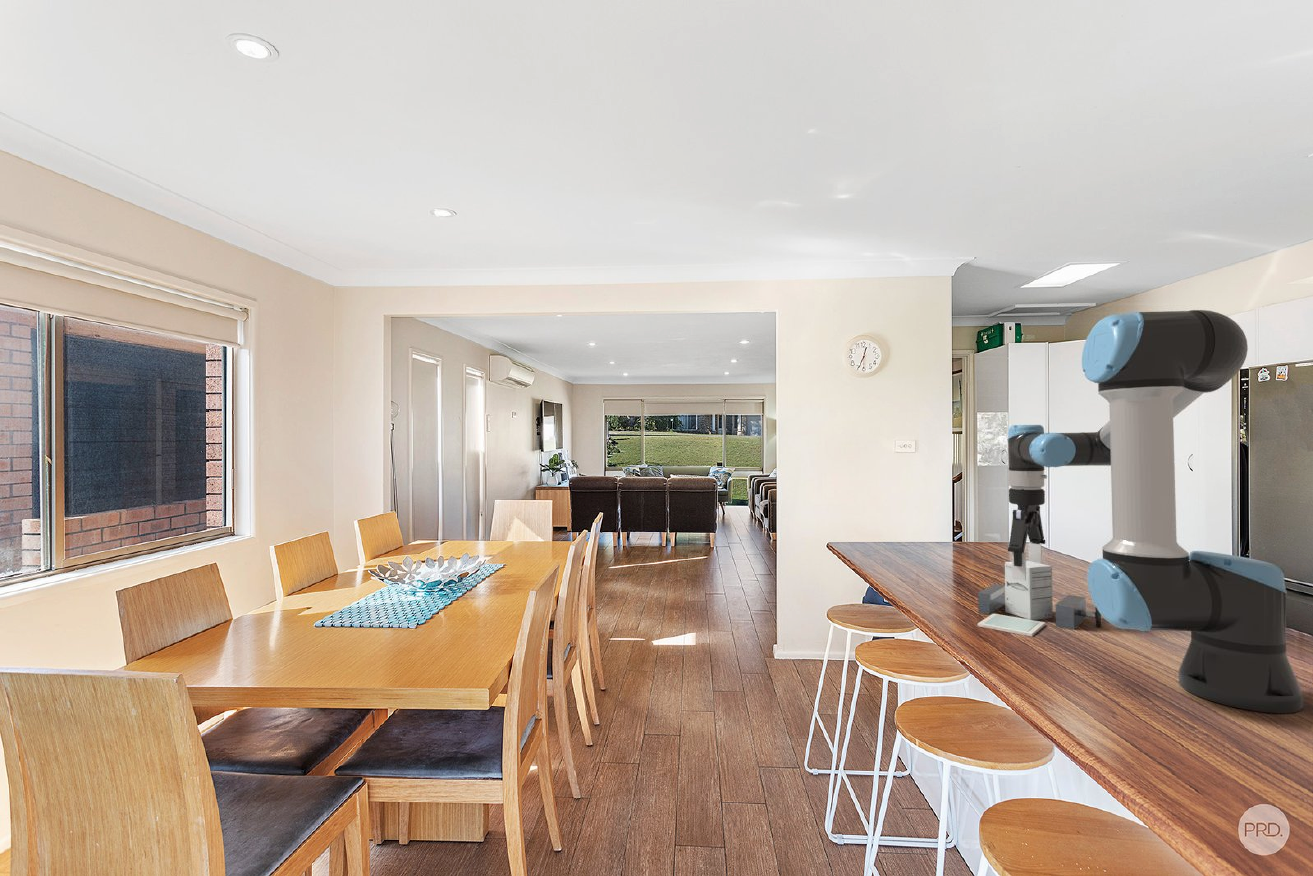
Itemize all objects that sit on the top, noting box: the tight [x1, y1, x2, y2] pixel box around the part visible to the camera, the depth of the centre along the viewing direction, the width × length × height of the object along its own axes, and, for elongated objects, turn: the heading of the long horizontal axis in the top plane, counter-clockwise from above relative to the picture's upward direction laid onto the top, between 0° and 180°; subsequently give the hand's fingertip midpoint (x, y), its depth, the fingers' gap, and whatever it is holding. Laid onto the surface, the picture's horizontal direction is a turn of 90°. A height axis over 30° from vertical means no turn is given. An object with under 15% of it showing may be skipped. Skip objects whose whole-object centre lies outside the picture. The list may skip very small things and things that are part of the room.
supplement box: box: [1004, 559, 1053, 621], centre depth 150 cm, size 7×7×13 cm
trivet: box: [977, 613, 1046, 637], centre depth 142 cm, size 11×11×1 cm
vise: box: [977, 583, 1102, 631], centre depth 148 cm, size 12×24×5 cm, turn 45°
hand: (1027, 574), depth 150 cm, fingers open, 13 cm apart
